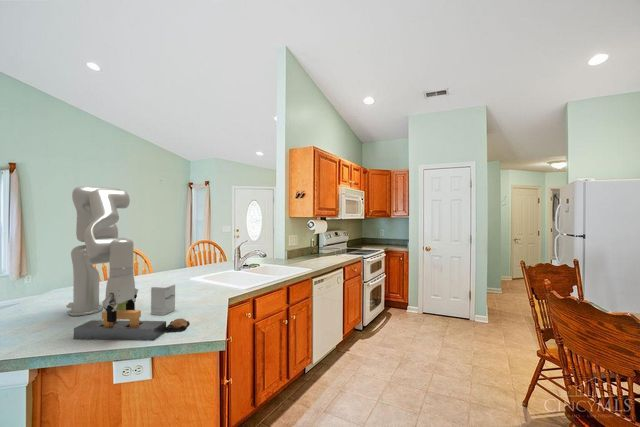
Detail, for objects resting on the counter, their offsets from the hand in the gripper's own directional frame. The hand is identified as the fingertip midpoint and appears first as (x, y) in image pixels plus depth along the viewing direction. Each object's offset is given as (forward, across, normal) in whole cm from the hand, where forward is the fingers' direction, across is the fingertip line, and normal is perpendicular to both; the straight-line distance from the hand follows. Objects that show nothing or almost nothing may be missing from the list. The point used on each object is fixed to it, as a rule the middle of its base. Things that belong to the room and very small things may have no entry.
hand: (121, 317), depth 109 cm
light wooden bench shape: (+6, 0, 0) cm, 6 cm away
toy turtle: (+8, -8, +17) cm, 21 cm away
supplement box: (+7, -26, +1) cm, 27 cm away
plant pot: (+7, -24, -18) cm, 31 cm away
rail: (+7, 0, 0) cm, 7 cm away
